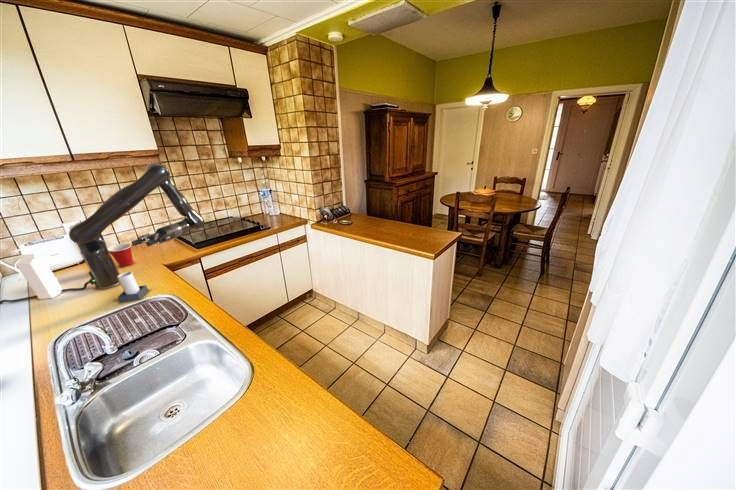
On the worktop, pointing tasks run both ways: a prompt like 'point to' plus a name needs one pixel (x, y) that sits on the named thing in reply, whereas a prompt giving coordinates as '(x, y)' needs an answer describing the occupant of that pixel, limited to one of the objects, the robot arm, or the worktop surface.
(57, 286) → the milk
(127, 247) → the plastic cup
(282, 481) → the worktop surface
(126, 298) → the dark square dish
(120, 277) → the tumbler
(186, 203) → the robot arm
